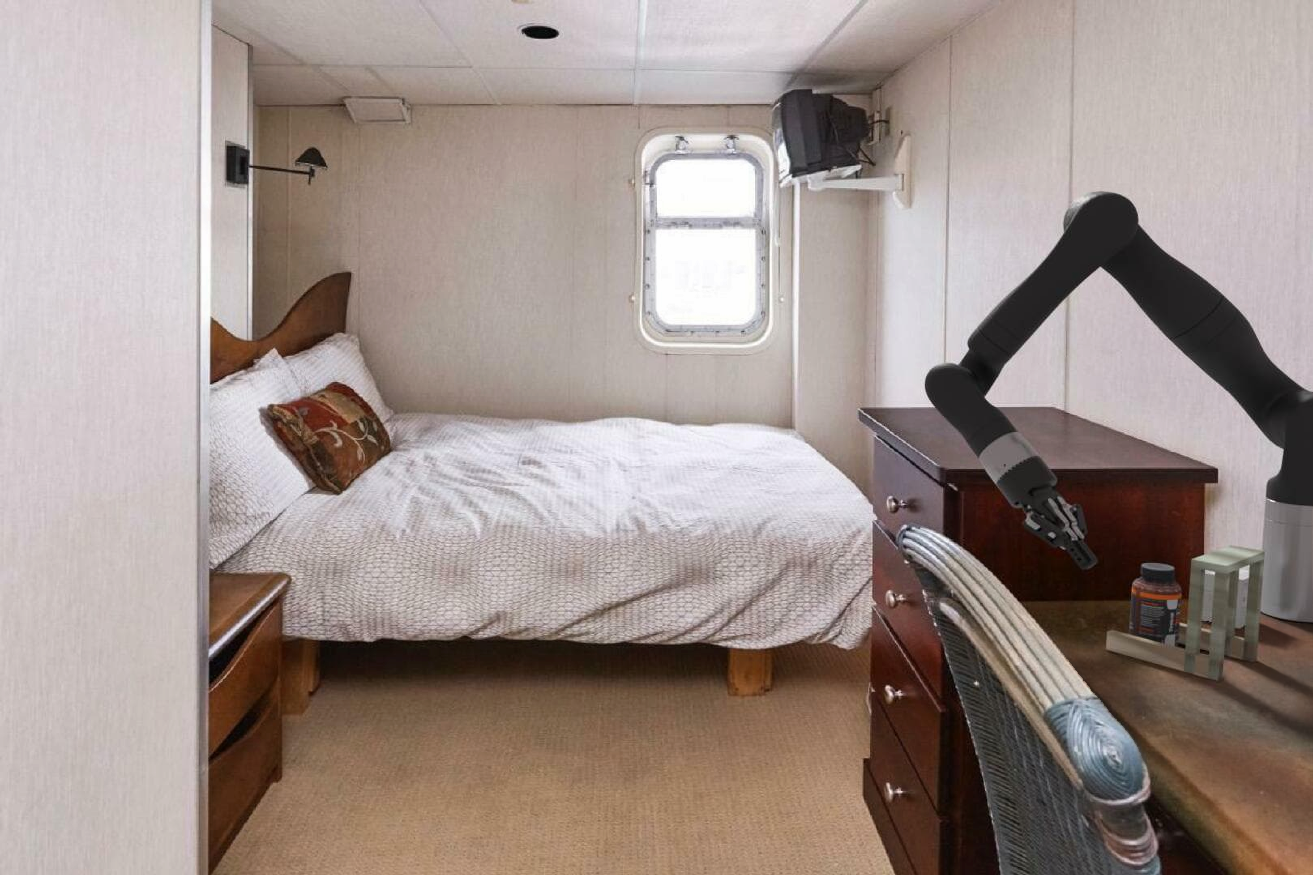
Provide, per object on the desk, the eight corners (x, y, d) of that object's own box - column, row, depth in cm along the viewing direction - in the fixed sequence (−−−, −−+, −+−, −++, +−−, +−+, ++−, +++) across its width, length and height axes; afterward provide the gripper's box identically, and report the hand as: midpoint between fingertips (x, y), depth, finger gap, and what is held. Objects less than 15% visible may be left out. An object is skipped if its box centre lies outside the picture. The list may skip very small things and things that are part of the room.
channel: (1147, 632, 133) (1153, 531, 132) (1256, 660, 122) (1265, 551, 121) (1106, 649, 127) (1111, 544, 125) (1218, 681, 116) (1226, 565, 114)
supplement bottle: (1184, 656, 124) (1190, 573, 122) (1135, 654, 125) (1140, 571, 124) (1169, 641, 130) (1174, 561, 128) (1123, 638, 131) (1127, 559, 129)
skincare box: (1240, 629, 134) (1243, 579, 133) (1194, 619, 139) (1197, 570, 138) (1256, 621, 138) (1260, 572, 137) (1211, 611, 143) (1214, 563, 142)
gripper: (1008, 458, 135) (1085, 558, 127) (1058, 450, 143) (1134, 544, 135) (974, 489, 140) (1047, 588, 132) (1024, 479, 148) (1096, 572, 140)
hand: (1091, 565), depth 133 cm, fingers closed
